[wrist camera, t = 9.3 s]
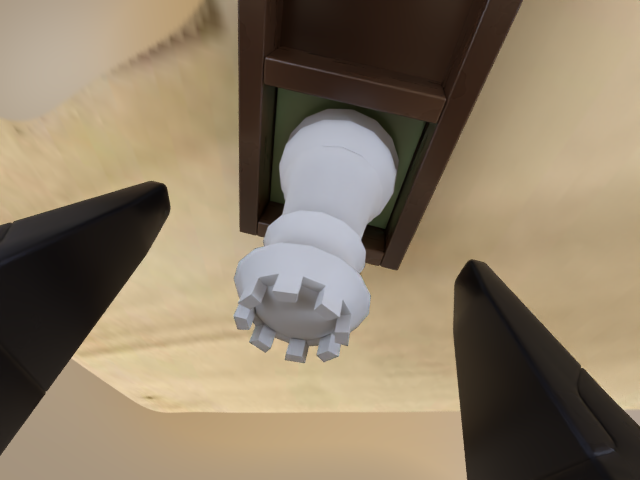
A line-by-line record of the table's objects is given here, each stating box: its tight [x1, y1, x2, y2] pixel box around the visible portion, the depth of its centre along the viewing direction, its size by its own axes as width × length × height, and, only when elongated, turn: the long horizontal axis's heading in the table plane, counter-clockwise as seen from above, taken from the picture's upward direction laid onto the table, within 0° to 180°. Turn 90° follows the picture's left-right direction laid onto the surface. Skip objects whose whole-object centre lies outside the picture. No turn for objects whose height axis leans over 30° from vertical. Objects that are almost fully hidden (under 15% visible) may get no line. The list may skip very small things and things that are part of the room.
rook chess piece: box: [234, 109, 399, 363], centre depth 10 cm, size 4×4×8 cm
